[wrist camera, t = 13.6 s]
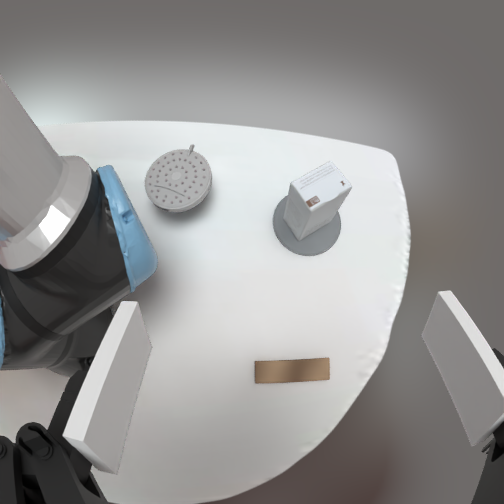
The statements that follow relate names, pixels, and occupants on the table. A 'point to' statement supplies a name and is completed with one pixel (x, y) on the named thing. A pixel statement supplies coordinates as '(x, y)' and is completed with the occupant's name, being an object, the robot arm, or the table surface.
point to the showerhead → (178, 180)
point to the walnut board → (292, 370)
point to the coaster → (312, 242)
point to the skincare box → (315, 199)
